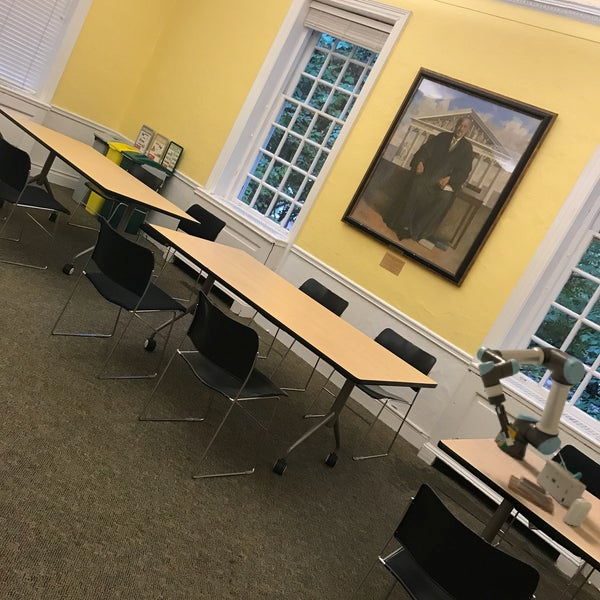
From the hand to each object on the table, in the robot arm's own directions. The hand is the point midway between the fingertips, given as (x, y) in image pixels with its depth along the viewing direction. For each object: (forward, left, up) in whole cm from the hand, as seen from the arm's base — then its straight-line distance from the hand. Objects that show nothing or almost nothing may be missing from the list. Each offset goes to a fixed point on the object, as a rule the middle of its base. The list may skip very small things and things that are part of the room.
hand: (511, 443), depth 269 cm
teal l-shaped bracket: (-58, +33, -17) cm, 69 cm away
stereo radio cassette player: (-22, +29, -17) cm, 40 cm away
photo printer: (+5, +37, -17) cm, 40 cm away
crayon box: (0, -3, -4) cm, 5 cm away
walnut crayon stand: (0, +18, -16) cm, 24 cm away
